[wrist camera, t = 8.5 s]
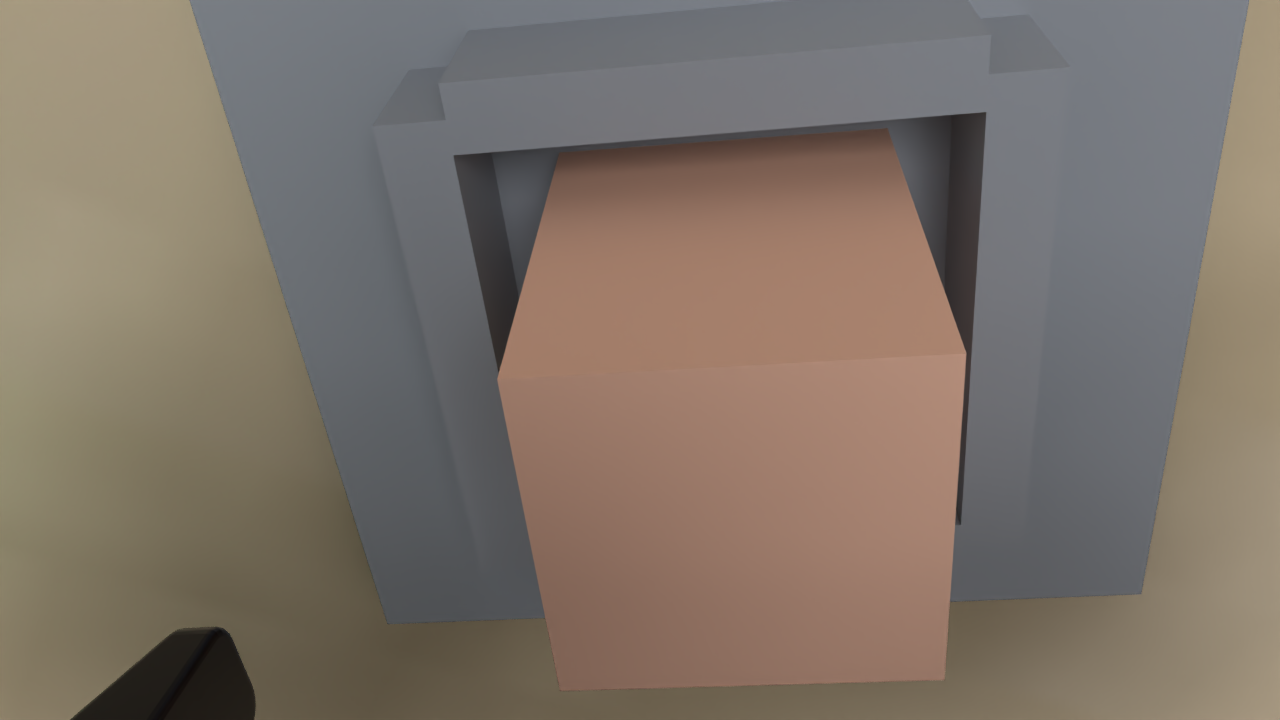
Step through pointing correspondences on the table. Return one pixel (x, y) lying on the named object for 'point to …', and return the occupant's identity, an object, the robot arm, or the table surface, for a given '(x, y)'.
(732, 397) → the peg block
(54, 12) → the table surface
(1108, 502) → the socket plate
